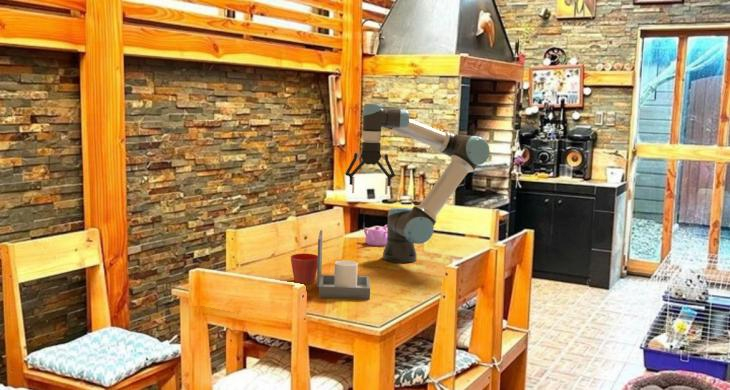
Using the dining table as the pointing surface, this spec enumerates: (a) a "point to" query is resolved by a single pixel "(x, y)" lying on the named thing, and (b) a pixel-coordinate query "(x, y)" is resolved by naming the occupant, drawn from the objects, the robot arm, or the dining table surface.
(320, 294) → the case
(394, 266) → the dining table surface
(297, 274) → the flower pot
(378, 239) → the pink toy pig
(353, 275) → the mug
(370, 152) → the robot arm
